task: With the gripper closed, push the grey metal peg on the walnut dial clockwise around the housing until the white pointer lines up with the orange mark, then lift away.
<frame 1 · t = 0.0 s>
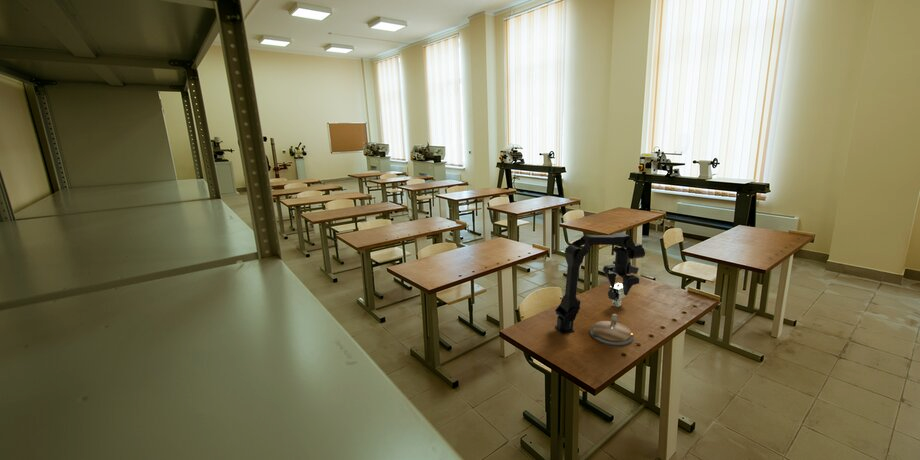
hand: (619, 291, 182), 15 cm above the table, tool pointing down, fingers open, 9 cm apart
dial housing: (611, 334, 173), on the table
dial: (611, 327, 172), point 4 cm above the table, hinge at 45.0°
pneumatic valve: (617, 306, 200), on the table
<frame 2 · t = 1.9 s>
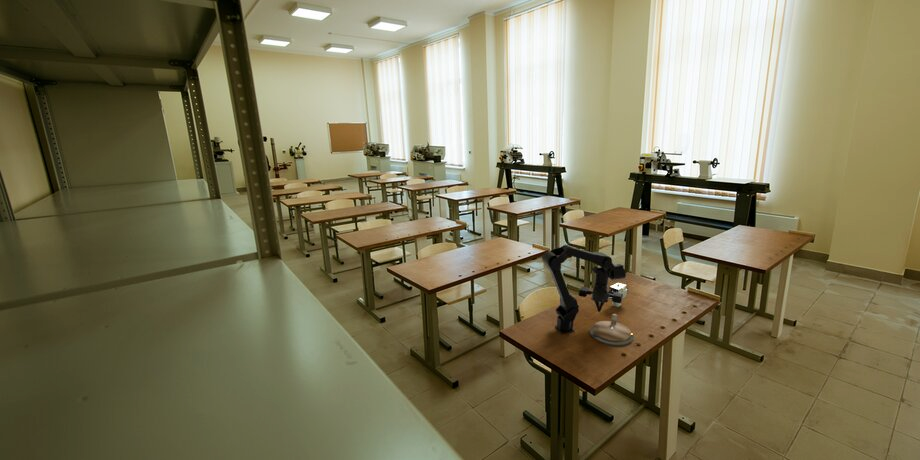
hand: (599, 311, 180), 7 cm above the table, tool pointing down, fingers closed
nothing on the table moved.
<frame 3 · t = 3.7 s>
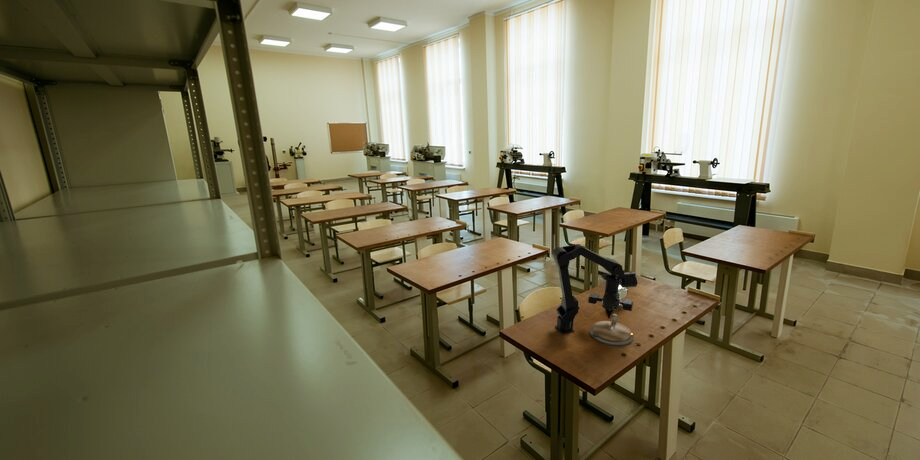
hand: (608, 318, 179), 4 cm above the table, tool pointing down, fingers closed
dial: (611, 327, 172), point 4 cm above the table, hinge at 44.4°, touching gripper
everything else where it was.
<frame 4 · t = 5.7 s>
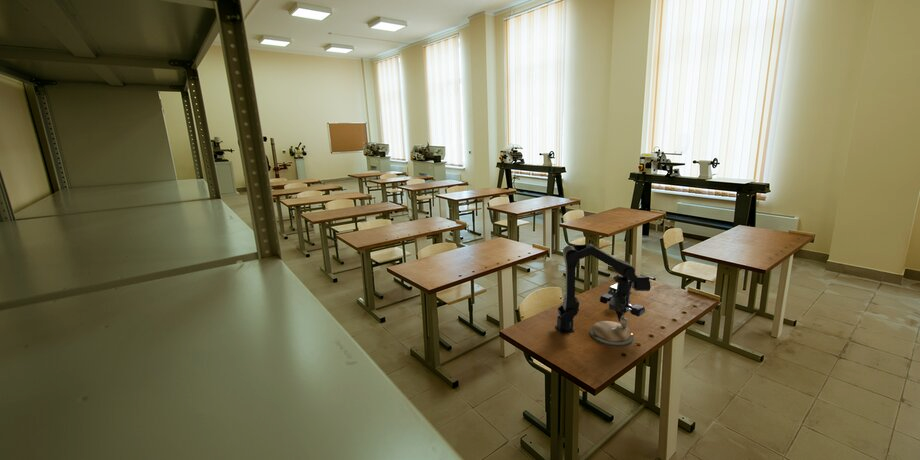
hand: (619, 321, 176), 4 cm above the table, tool pointing down, fingers closed
dial: (611, 327, 172), point 4 cm above the table, hinge at 4.2°, touching gripper
everything else where it was.
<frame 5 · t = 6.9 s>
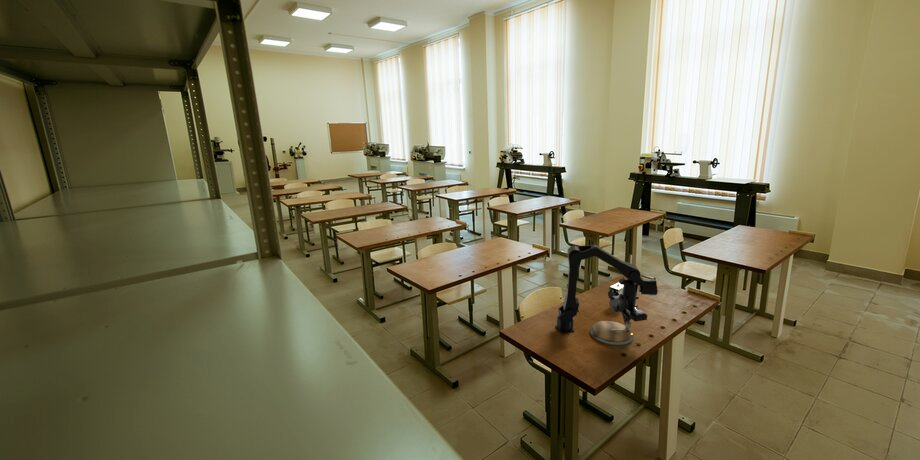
hand: (625, 324, 173), 4 cm above the table, tool pointing down, fingers closed
dial: (611, 327, 172), point 4 cm above the table, hinge at -26.7°, touching gripper
everything else where it was.
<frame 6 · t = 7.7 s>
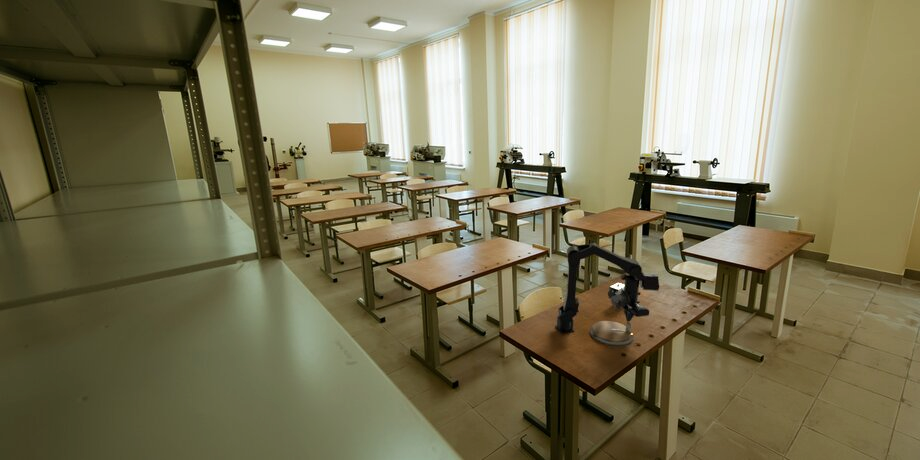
hand: (628, 321, 171), 6 cm above the table, tool pointing down, fingers closed
dial: (611, 327, 172), point 4 cm above the table, hinge at -33.0°
everything else where it was.
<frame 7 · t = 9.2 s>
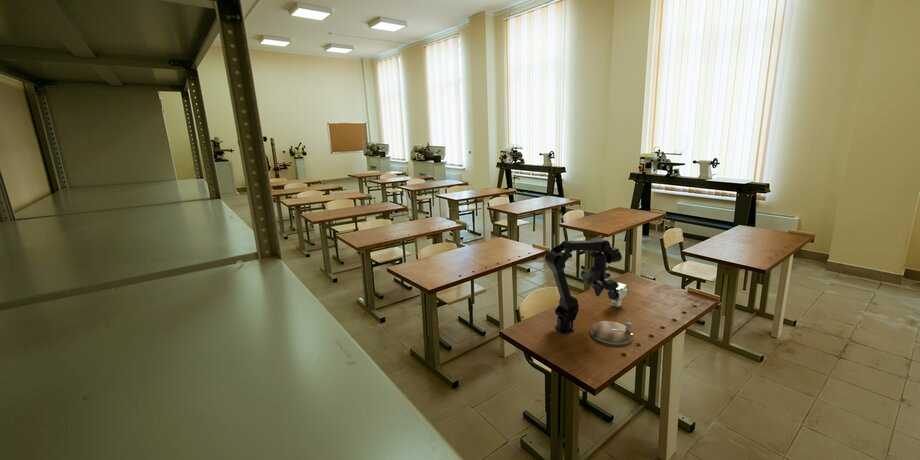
hand: (597, 296, 182), 13 cm above the table, tool pointing down, fingers closed
nothing on the table moved.
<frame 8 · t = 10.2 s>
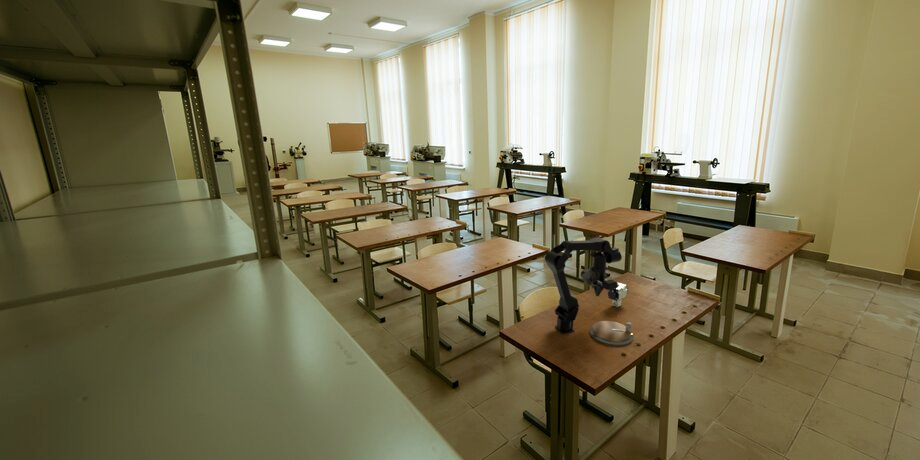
hand: (597, 296, 182), 13 cm above the table, tool pointing down, fingers closed
nothing on the table moved.
at the end: dial at -33° (first picture: +45°) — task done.
